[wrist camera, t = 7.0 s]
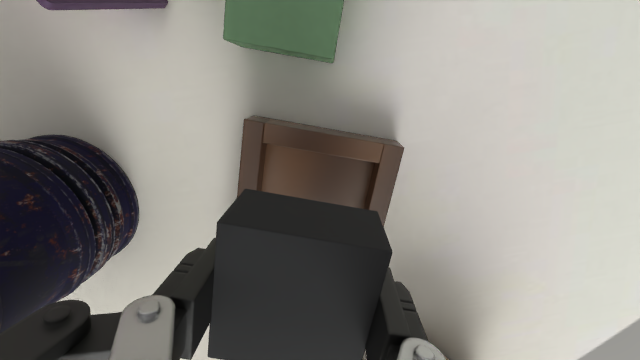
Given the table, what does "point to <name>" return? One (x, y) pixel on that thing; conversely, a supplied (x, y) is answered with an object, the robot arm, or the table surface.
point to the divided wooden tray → (318, 164)
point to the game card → (101, 4)
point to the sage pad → (285, 26)
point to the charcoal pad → (295, 279)
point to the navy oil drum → (57, 220)
